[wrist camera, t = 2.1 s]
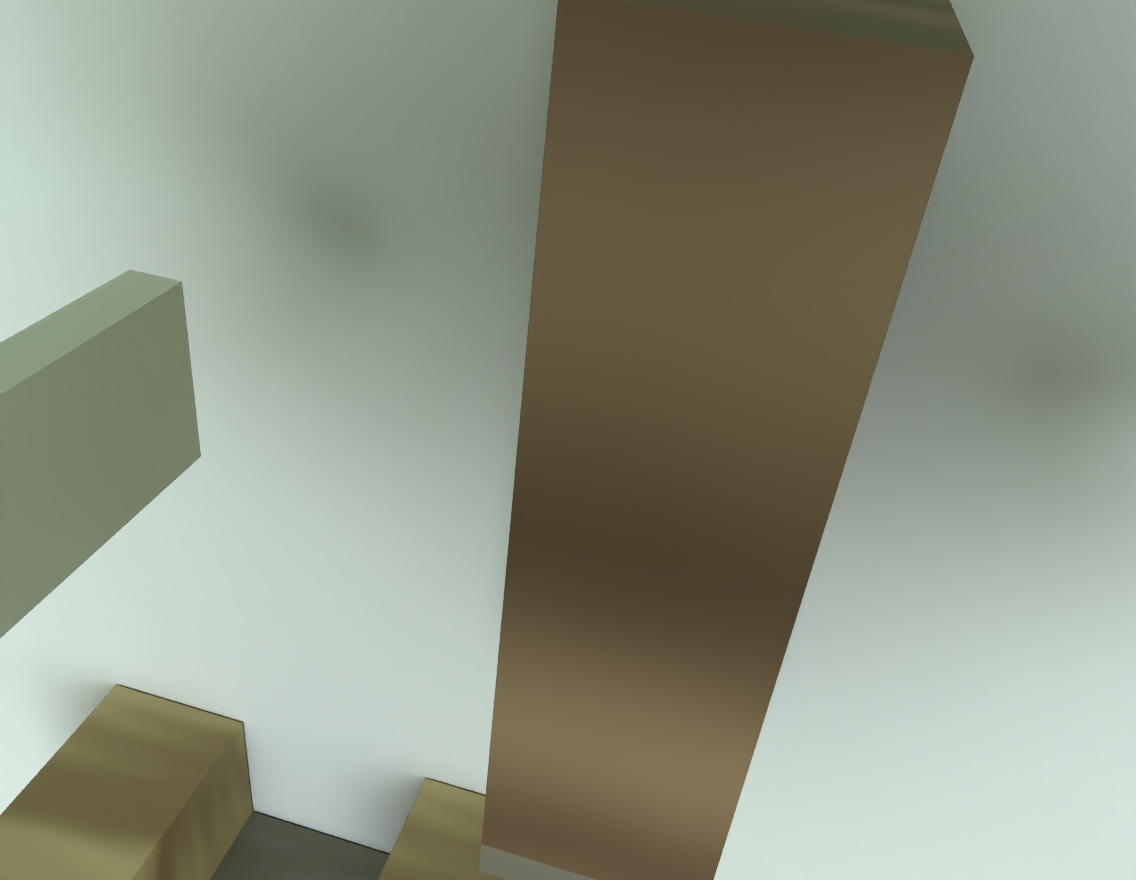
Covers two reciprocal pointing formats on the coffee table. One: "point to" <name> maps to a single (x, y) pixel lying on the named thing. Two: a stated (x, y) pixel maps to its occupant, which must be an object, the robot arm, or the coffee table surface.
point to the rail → (693, 397)
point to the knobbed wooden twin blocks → (202, 811)
